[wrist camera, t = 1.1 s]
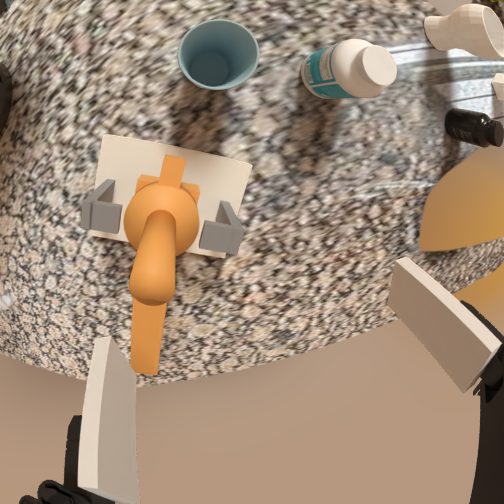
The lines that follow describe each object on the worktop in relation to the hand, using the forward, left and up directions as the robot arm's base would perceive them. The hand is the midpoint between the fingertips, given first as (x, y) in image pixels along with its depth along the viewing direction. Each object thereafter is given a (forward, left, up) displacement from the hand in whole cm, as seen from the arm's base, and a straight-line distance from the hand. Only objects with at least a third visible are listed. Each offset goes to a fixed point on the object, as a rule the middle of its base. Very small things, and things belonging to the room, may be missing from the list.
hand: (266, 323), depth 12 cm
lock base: (-5, -4, -29) cm, 29 cm away
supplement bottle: (+42, +26, -29) cm, 57 cm away
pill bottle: (+11, +19, -29) cm, 36 cm away
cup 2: (+31, +42, -29) cm, 60 cm away
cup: (-4, +14, -29) cm, 32 cm away
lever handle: (-5, -5, -24) cm, 25 cm away
